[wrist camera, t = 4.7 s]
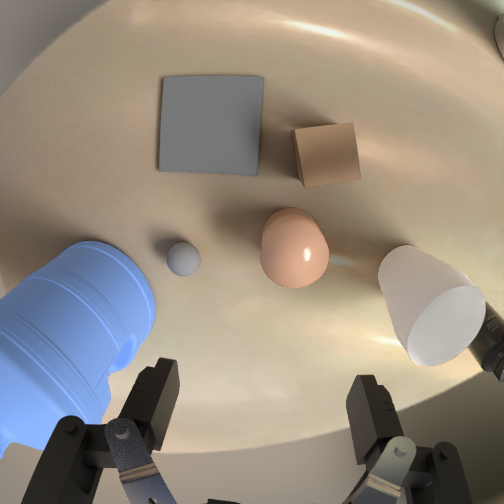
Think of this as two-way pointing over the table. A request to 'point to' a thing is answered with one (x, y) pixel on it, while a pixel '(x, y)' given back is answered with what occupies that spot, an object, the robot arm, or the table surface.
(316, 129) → the walnut block
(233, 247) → the table surface
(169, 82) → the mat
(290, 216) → the peach rounded capsule
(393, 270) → the cup
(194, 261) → the grey ball
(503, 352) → the supplement bottle
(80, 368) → the water jug
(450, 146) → the table surface
